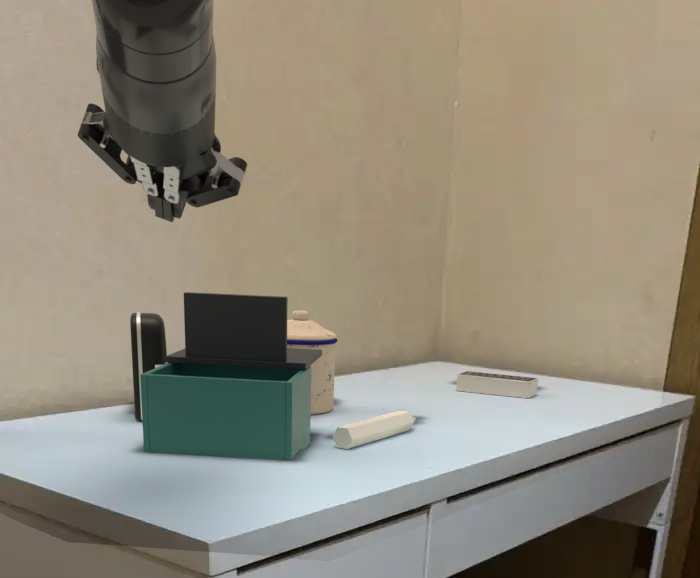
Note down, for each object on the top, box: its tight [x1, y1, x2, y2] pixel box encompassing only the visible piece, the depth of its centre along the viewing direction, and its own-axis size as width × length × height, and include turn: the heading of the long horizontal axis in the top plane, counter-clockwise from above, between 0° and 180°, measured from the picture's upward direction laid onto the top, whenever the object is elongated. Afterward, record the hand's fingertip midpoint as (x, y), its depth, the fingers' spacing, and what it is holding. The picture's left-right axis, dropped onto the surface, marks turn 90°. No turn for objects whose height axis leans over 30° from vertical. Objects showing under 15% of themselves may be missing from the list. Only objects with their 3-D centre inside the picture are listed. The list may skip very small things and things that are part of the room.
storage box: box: [140, 362, 312, 461], centre depth 91 cm, size 14×12×8 cm
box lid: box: [165, 291, 322, 370], centre depth 96 cm, size 14×12×7 cm
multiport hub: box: [455, 370, 539, 399], centre depth 135 cm, size 4×11×2 cm, turn 64°
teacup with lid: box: [287, 310, 338, 415], centre depth 113 cm, size 12×9×12 cm
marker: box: [331, 410, 417, 450], centre depth 102 cm, size 3×2×16 cm
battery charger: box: [129, 311, 168, 421], centre depth 106 cm, size 7×4×11 cm, turn 11°
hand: (167, 209), depth 78 cm, fingers closed
